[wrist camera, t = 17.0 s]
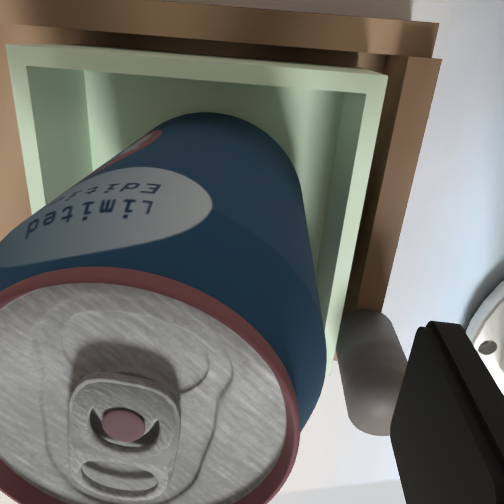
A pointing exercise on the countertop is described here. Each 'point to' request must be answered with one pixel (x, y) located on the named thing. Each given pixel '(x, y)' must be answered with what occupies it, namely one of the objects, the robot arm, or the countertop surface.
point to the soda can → (162, 326)
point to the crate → (206, 100)
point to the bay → (282, 49)
